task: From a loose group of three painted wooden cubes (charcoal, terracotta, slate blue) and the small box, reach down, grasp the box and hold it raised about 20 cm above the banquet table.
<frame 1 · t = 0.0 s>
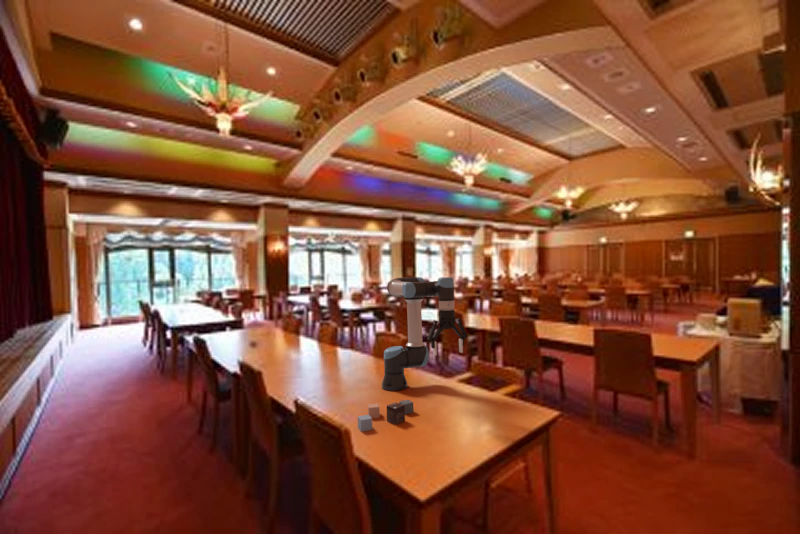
hand: (448, 353, 182), 28 cm above the table, fingers open, 13 cm apart
cube terracotta: (373, 416, 180), on the table
cube charcoal: (406, 412, 184), on the table
box: (396, 421, 173), on the table
cube slate: (365, 428, 166), on the table
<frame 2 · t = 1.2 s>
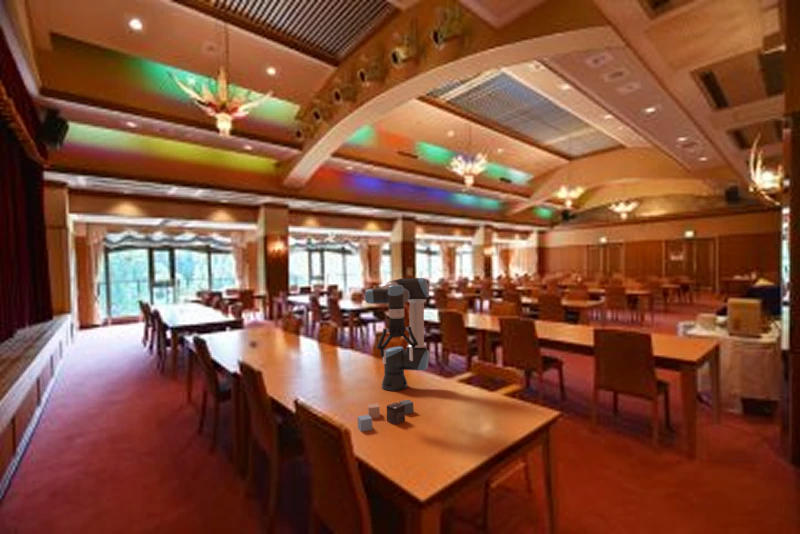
hand: (398, 362, 181), 25 cm above the table, fingers open, 13 cm apart
nothing on the table moved.
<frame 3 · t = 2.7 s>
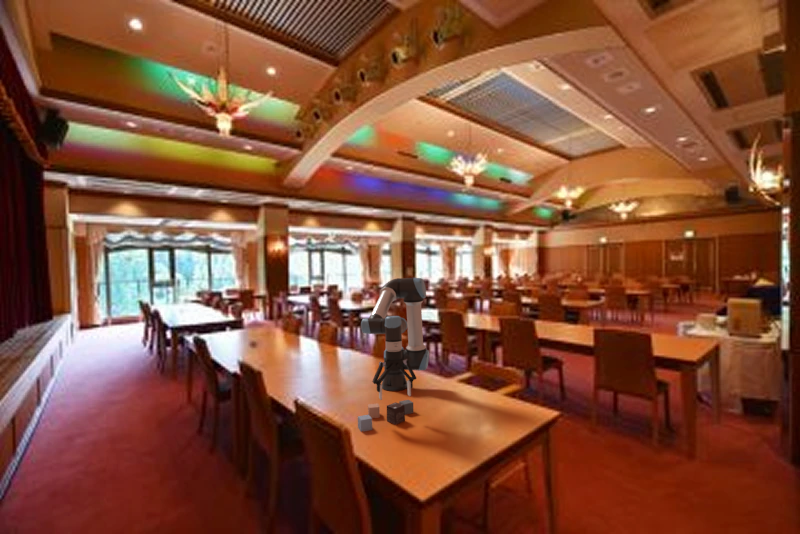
hand: (395, 397, 173), 11 cm above the table, fingers open, 13 cm apart
nothing on the table moved.
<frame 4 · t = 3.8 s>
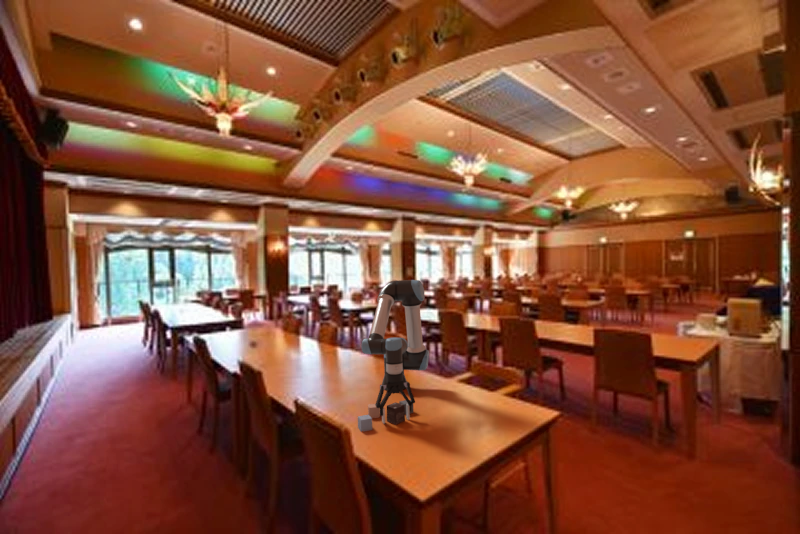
hand: (395, 420, 173), 0 cm above the table, fingers open, 11 cm apart
nothing on the table moved.
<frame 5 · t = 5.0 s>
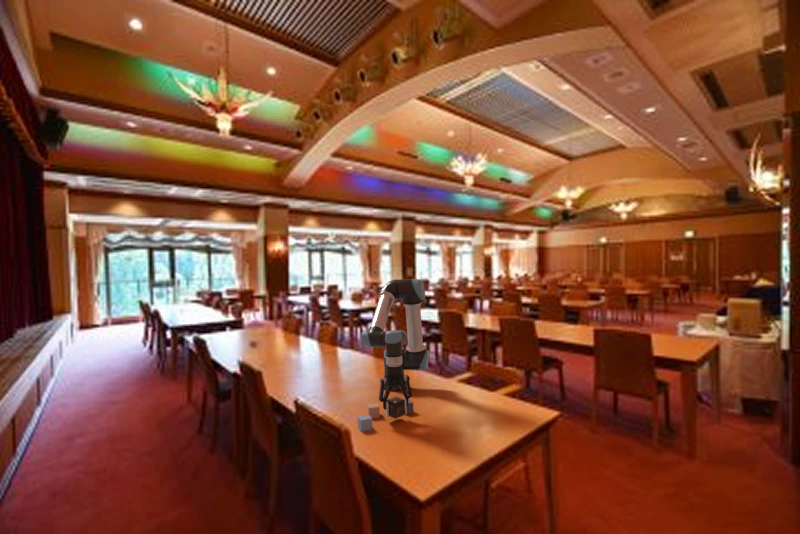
hand: (396, 414, 174), 3 cm above the table, fingers closed on box, 8 cm apart
box: (396, 415, 174), point 2 cm above the table, touching gripper
everything else where it was.
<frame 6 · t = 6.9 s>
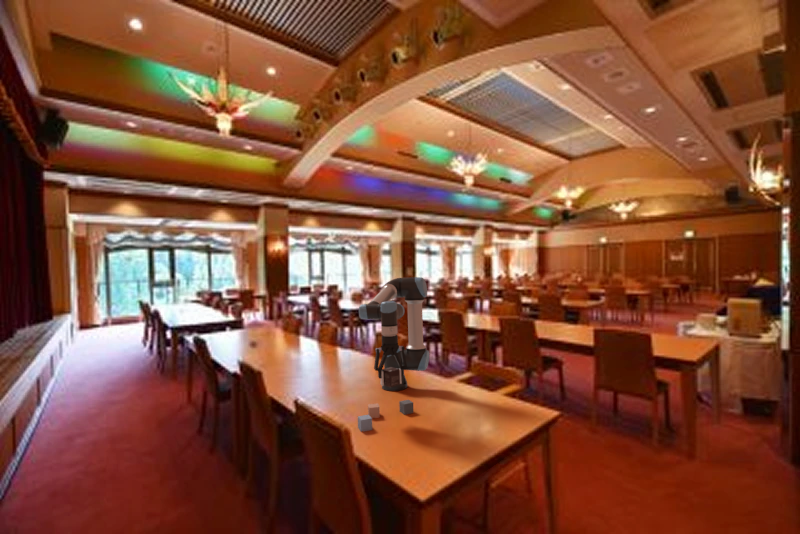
hand: (391, 384, 176), 16 cm above the table, fingers closed on box, 8 cm apart
box: (391, 385, 176), point 16 cm above the table, touching gripper
everything else where it was.
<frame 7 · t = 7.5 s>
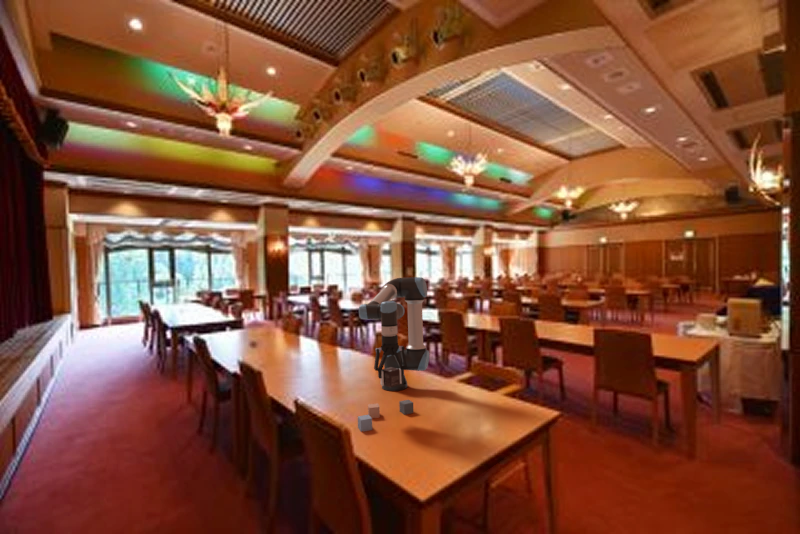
hand: (391, 384, 176), 16 cm above the table, fingers closed on box, 8 cm apart
box: (391, 385, 176), point 16 cm above the table, touching gripper
everything else where it was.
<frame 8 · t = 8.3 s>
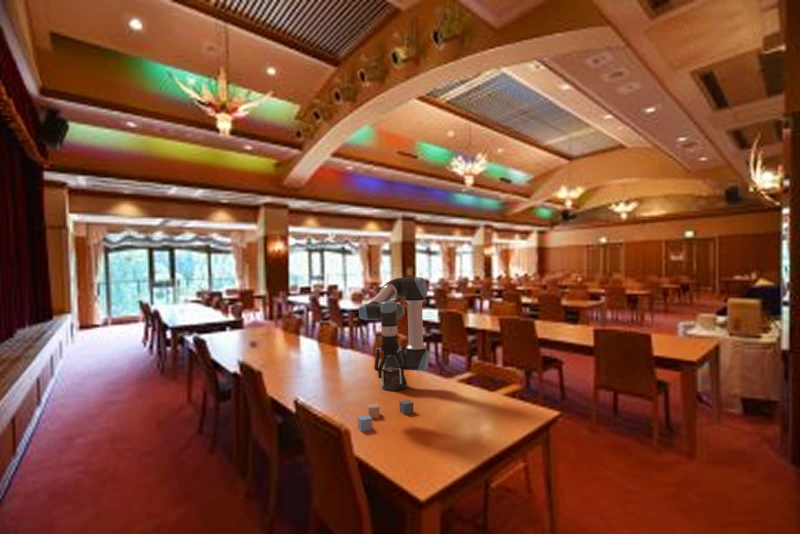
hand: (391, 384, 176), 16 cm above the table, fingers closed on box, 8 cm apart
box: (391, 385, 176), point 16 cm above the table, touching gripper
everything else where it was.
at the end: the gripper is holding box; box point 15.5 cm above the table; cube slate moved 0.1 cm from its start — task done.
